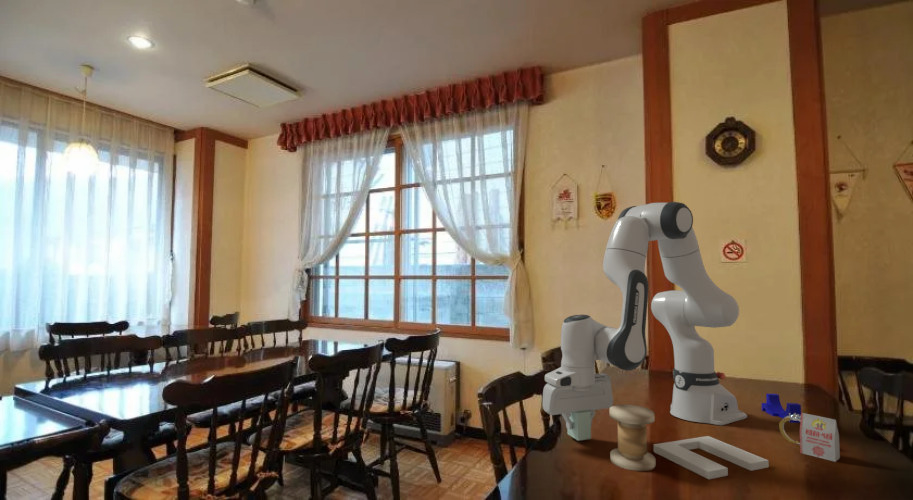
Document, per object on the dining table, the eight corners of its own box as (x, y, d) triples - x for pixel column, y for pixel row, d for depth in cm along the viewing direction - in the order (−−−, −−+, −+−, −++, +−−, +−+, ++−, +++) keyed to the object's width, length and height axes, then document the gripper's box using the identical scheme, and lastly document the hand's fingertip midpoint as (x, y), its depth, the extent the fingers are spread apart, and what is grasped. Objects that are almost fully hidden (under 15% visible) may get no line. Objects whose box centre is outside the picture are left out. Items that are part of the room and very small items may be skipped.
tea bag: (805, 451, 111) (803, 411, 111) (840, 460, 105) (838, 418, 106) (800, 455, 109) (798, 414, 109) (835, 464, 103) (833, 421, 104)
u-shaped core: (708, 443, 116) (708, 435, 116) (768, 469, 101) (768, 460, 101) (653, 452, 110) (653, 444, 110) (708, 481, 95) (708, 471, 95)
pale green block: (580, 432, 122) (579, 406, 122) (591, 438, 117) (590, 411, 117) (567, 433, 120) (567, 407, 121) (578, 440, 115) (577, 413, 116)
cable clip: (761, 412, 143) (761, 393, 143) (776, 412, 143) (776, 393, 143) (785, 424, 131) (784, 404, 131) (801, 425, 131) (800, 404, 131)
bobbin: (634, 451, 111) (633, 403, 111) (665, 468, 101) (664, 415, 102) (601, 456, 108) (600, 406, 108) (629, 474, 98) (628, 419, 99)
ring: (815, 448, 113) (813, 416, 113) (808, 450, 111) (807, 418, 112) (784, 439, 119) (783, 409, 119) (778, 441, 117) (776, 411, 118)
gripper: (602, 370, 126) (603, 419, 125) (539, 375, 119) (540, 427, 118) (617, 374, 120) (618, 426, 119) (551, 381, 113) (552, 436, 112)
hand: (578, 427), depth 119 cm, fingers closed on pale green block, 4 cm apart
